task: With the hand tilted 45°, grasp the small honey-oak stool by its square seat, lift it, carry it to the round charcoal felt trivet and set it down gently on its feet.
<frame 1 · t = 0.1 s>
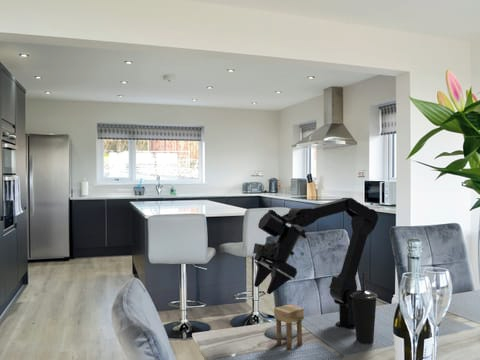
hand: (261, 289, 127), 15 cm above the table, tool tilted 30°, fingers open, 9 cm apart
trivet: (281, 333, 132), on the table
stool: (289, 344, 122), on the table
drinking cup: (364, 341, 124), on the table
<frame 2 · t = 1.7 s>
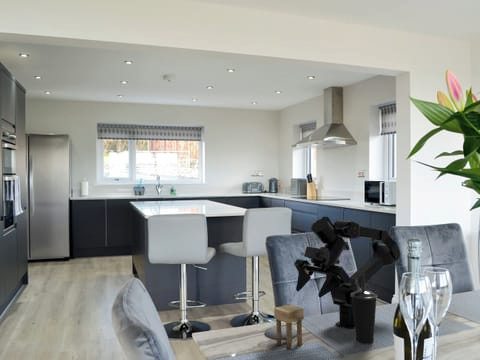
hand: (307, 293, 127), 13 cm above the table, tool tilted 45°, fingers open, 9 cm apart
nothing on the table moved.
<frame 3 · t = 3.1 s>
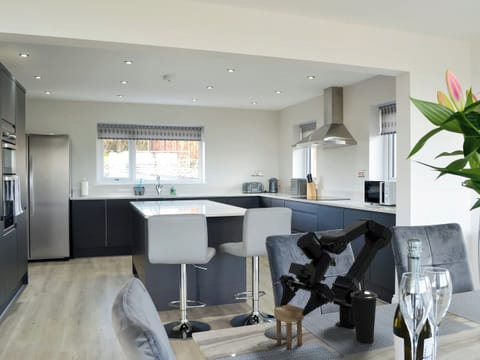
hand: (291, 311, 123), 9 cm above the table, tool tilted 45°, fingers open, 9 cm apart
nothing on the table moved.
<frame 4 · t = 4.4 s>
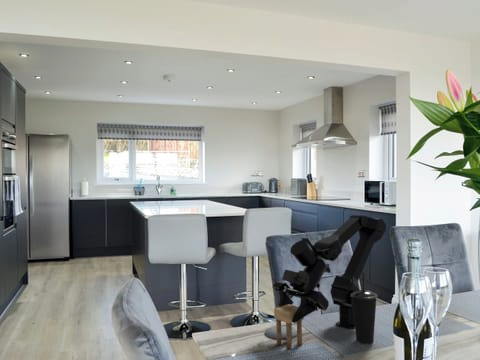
hand: (285, 319, 122), 8 cm above the table, tool tilted 45°, fingers closed on stool, 6 cm apart
stool: (289, 344, 122), on the table, touching gripper
everything else where it was.
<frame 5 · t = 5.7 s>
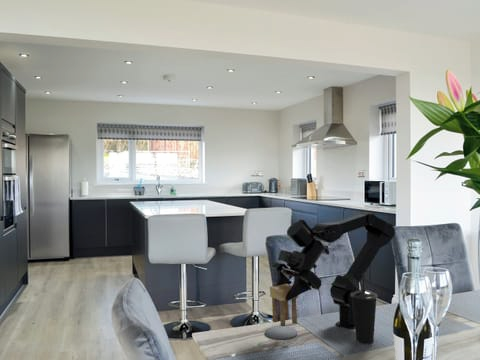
hand: (280, 297, 126), 13 cm above the table, tool tilted 45°, fingers closed on stool, 6 cm apart
stool: (284, 322, 126), point 5 cm above the table, touching gripper
everything else where it was.
when the fingers open (9 cm above the table, at t = 7.4 s): stool stays where it is, resting on trivet.
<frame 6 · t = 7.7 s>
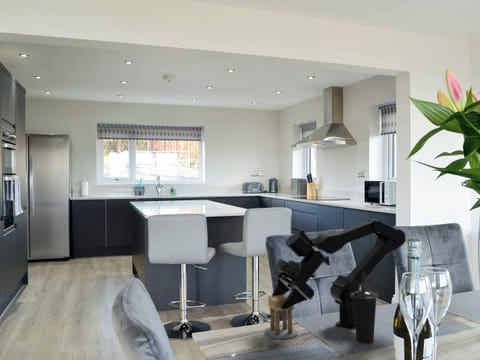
hand: (276, 304, 131), 9 cm above the table, tool tilted 45°, fingers open, 9 cm apart
stool: (281, 331, 131), point 1 cm above the table, touching trivet
everything else where it was.
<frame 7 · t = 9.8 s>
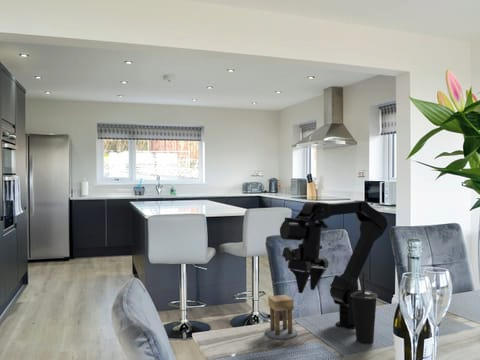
hand: (306, 291, 132), 13 cm above the table, tool pointing down, fingers open, 9 cm apart
nothing on the table moved.
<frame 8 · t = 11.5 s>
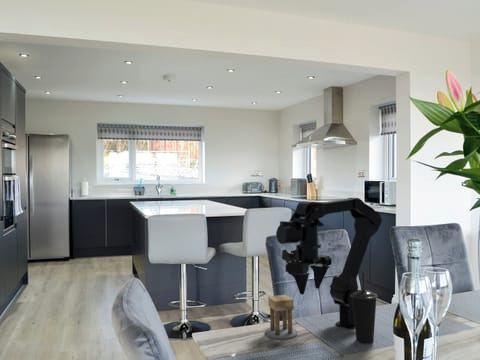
hand: (309, 291, 132), 13 cm above the table, tool pointing down, fingers open, 9 cm apart
nothing on the table moved.
at the end: stool 0.1 cm from the trivet (horizontally); stool tilted 0°; stool point 0.6 cm above the table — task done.
